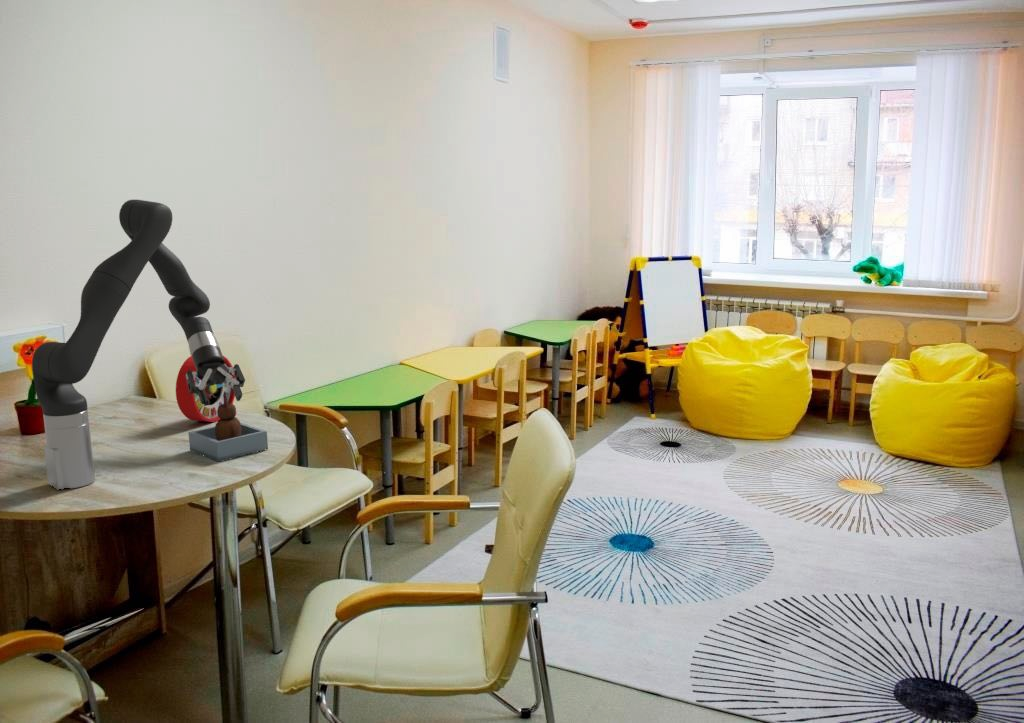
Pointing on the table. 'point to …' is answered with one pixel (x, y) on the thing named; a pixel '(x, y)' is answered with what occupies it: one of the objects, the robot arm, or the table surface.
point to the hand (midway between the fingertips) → (223, 401)
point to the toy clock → (191, 402)
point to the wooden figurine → (227, 421)
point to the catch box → (228, 443)
